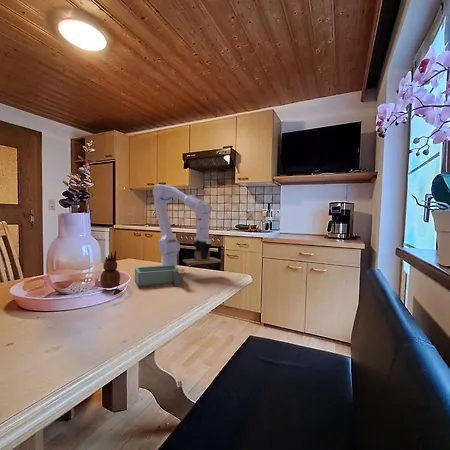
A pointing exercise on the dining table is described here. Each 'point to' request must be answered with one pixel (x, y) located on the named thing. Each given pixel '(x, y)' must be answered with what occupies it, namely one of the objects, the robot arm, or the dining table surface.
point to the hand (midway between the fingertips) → (202, 257)
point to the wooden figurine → (110, 273)
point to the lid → (199, 259)
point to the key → (179, 269)
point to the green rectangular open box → (157, 276)
